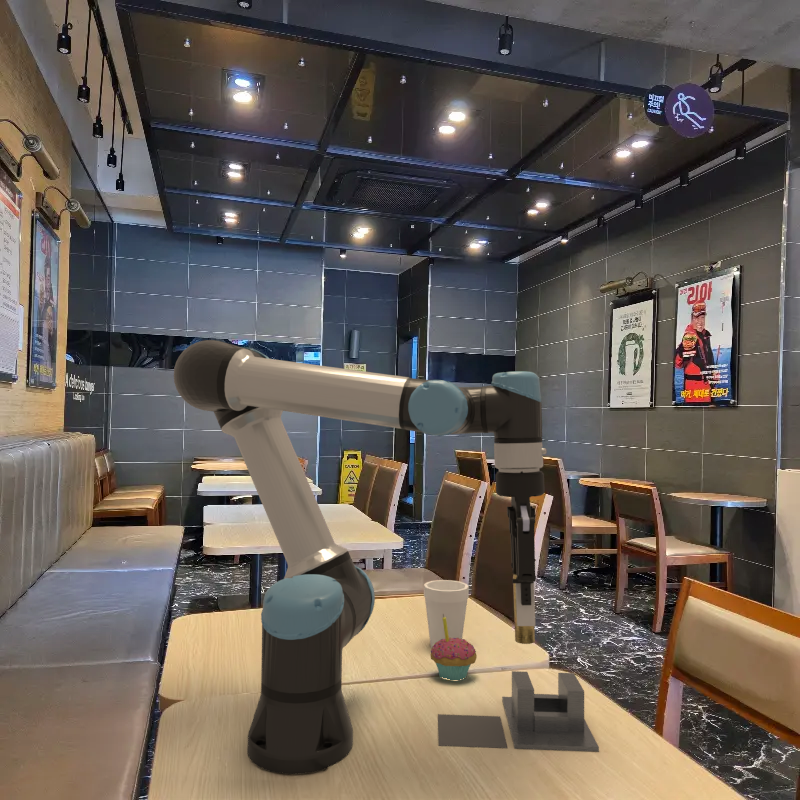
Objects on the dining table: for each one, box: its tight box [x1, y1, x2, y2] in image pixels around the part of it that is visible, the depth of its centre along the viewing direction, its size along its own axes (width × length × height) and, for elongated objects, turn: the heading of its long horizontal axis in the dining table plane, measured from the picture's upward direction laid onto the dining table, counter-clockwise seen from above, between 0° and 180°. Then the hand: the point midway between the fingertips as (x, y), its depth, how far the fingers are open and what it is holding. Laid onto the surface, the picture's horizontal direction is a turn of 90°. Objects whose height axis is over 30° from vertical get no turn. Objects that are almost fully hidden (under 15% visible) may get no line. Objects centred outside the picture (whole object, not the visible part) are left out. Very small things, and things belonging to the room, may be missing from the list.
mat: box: [437, 713, 509, 749], centre depth 96 cm, size 10×10×1 cm
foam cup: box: [423, 579, 470, 648], centre depth 134 cm, size 10×9×13 cm
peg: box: [512, 574, 536, 645], centre depth 98 cm, size 3×3×10 cm
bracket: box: [501, 670, 600, 753], centre depth 99 cm, size 12×16×7 cm
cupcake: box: [430, 614, 477, 680], centre depth 118 cm, size 9×8×12 cm
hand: (524, 621), depth 98 cm, fingers closed on peg, 3 cm apart
